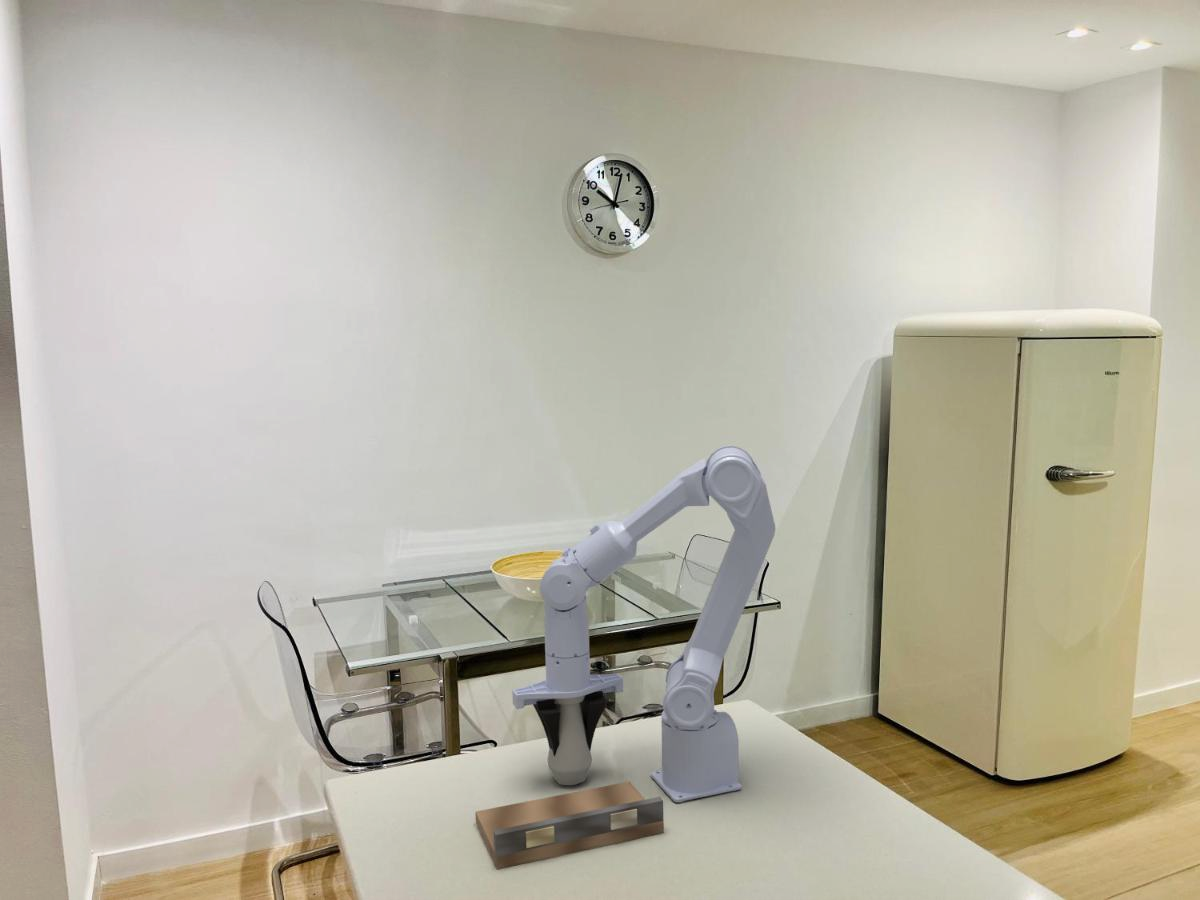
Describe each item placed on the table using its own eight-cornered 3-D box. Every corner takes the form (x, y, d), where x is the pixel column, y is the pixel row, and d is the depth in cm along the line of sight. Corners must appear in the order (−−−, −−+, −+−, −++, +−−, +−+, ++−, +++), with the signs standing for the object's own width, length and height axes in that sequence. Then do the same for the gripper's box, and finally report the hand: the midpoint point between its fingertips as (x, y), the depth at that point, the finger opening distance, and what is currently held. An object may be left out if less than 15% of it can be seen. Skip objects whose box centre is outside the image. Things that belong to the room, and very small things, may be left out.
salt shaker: (586, 790, 119) (584, 692, 117) (543, 787, 120) (540, 690, 118) (596, 769, 124) (594, 676, 123) (554, 766, 126) (552, 673, 124)
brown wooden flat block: (630, 792, 119) (629, 762, 118) (664, 833, 109) (663, 801, 108) (475, 823, 112) (474, 791, 111) (497, 870, 102) (496, 835, 101)
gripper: (608, 634, 126) (611, 730, 128) (505, 649, 121) (508, 748, 123) (628, 650, 120) (630, 751, 121) (519, 666, 115) (523, 771, 116)
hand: (570, 751), depth 122 cm, fingers closed on salt shaker, 4 cm apart
